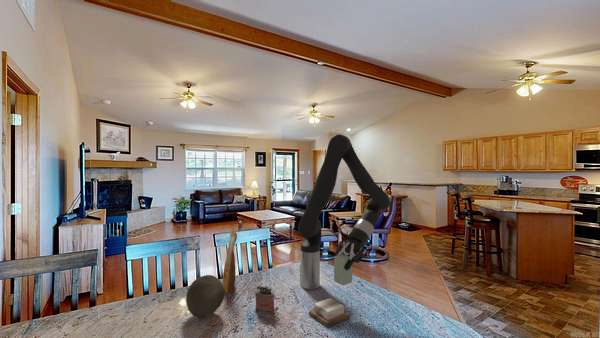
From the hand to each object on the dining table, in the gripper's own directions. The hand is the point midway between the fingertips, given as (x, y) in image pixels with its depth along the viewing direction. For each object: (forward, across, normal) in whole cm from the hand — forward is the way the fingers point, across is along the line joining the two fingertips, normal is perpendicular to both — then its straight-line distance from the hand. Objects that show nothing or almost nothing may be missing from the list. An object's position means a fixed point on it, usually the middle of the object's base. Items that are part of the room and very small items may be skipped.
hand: (340, 266), depth 113 cm
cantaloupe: (+44, -30, -18) cm, 56 cm away
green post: (+3, 0, +5) cm, 6 cm away
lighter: (+30, -19, -4) cm, 35 cm away
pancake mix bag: (+31, -50, -5) cm, 59 cm away
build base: (+17, 0, +8) cm, 19 cm away
